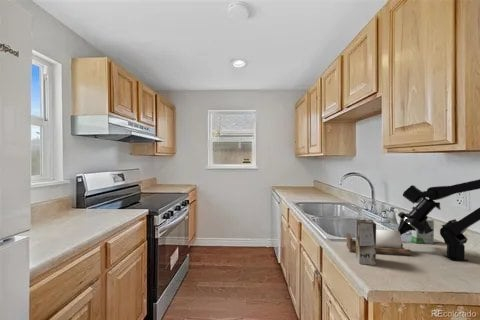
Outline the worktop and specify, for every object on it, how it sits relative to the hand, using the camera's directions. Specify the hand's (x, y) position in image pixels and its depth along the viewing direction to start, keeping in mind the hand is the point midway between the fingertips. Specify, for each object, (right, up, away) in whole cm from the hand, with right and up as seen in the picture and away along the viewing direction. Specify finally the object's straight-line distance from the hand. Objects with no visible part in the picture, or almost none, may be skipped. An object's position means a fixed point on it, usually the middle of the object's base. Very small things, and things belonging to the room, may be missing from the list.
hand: (397, 235), depth 140 cm
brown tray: (-10, -7, -1) cm, 12 cm away
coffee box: (-21, -7, -15) cm, 27 cm away
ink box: (+19, -7, +13) cm, 24 cm away
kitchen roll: (-6, -5, -2) cm, 8 cm away
